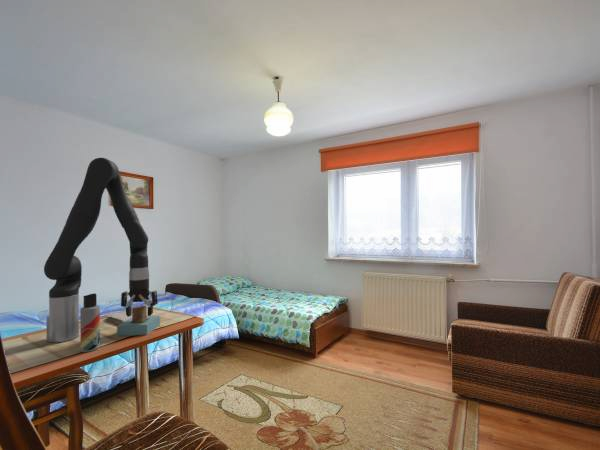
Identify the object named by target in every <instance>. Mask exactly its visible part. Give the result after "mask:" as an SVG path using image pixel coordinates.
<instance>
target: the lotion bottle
mask: <svg viewBox="0 0 600 450" xmlns="http://www.w3.org/2000/svg"><path fill="white" fill-rule="evenodd" d="M97 301H98V300H97V294H96V292H95V293H90V294H86V295H83V306H82V307H81V308H79V335H80V351H81V352H82V353H89V352H93V351H96V350H98V349H100V347H101V325H100V324H101V319H100V318H101V311H100V310H101V309H100V305H99V304H98V303H97Z"/></svg>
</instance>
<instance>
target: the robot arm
mask: <svg viewBox="0 0 600 450" xmlns="http://www.w3.org/2000/svg"><path fill="white" fill-rule="evenodd" d="M87 166H88V167H87V169H86V173H85V176H84V180H83V182H82V187H81V188H80V190H79V193H78V195H77V197H76V199H75V201H74V203H73V205H72V207H71V210H70V212H69V214H68V216H67V219H66V220H65V225H64V226H63V228H62V231H61V233H60V235H59V238H58V240H57V242H56V244H55V246H54V247H53V249H52V251H51V252H50V254H49V256H48V257H47V259H46V261H45V263H44V266H43V273H44V275H45V277H46V278H48V279H49V280H53V281H55V283H54V285H53V286H52V287H51V288H50V289H49V292H48V311H49V312H48V316H46V319H45V320H46V324H45V326H46V342H49V343H63V342H67V341H70V340H74V339H76V338H78V337H79V335H80V303H79V301H80V297H79V293H80V291H79V290H80V288H81V287H82V286H81V285H82V273H83V272H82V271H83V270H82V267H83V266H82V263H81V260H80V259H79V257H77V256H76V255H75V253H76V251H77V250H78V248H79V247H80V245H81V244H82V243H83V242H84V241H85V240H86V238H88V236H89V235H90V234H91V233H92V231H93V229H94V228H95V226H96V224H97V222H98V219H99V217H100V213H101V209H102V198H103V195H104V192H105V190H106V191H107V193H108V195H109V197H110V200H111V204H112V208H113V211H114V214H115V215H116V217H117V219H118V222H119V224H120V225H121V227H122V229H123V231H124V233H125V236H126V237H127V239H128V242H129V271H128V289H129V291H123V292H121V295H120V296H121V297H120V299H121V300H120V306H121V307H123V308H125V311H126V315H127V317H129V316H131V315H132V308H133V307H132V305H133V304H134V303H144V304H145V305H146V307H147V316H152V314H153V313H154V306H156V305H157V304H158V303H159V302H158V291H157V290H154V291H150V271H149V255H148V243H149V236H148V234H147V232H146V231H145V229H144V228H143V226H142V224H141V222H140V219H139V217H138V214H137V212H136V211H135V208H134V205H132V203H131V200H130V198H129V196H128V194H127V192H126V190H125V187H124V184H123V180H122V177H121V175H120V170H119V167H118V166H117V164H116V163H115V162H113V161H112V160H110V159H108V158H105V157H97V158H94V159H92V160H91V161H90V162H89V164H88V165H87ZM128 297H129V300H128ZM150 297H151V298H150Z"/></svg>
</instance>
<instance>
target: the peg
mask: <svg viewBox="0 0 600 450" xmlns="http://www.w3.org/2000/svg"><path fill="white" fill-rule="evenodd" d="M147 316H148V311H147V305H146V304H145V305H136V306H134V307H132V323H143V322H145V321H146V320H147Z"/></svg>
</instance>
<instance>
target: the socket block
mask: <svg viewBox="0 0 600 450" xmlns="http://www.w3.org/2000/svg"><path fill="white" fill-rule="evenodd" d="M147 316H148V315H147ZM159 326H161V316H160V315H154V316H152V315H151V316H148V317H147V320H146V321H145V322H143V323H132V318H130V319H128V320H127V321H125V322H123V323H121V324H118V325H116V335H117V336H118V337H120V336H123V335H124V336H145V335H149V334H150V333H151V332H153V331H155V330H156V329H157V328H158V327H159ZM117 336H116V337H117Z"/></svg>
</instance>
